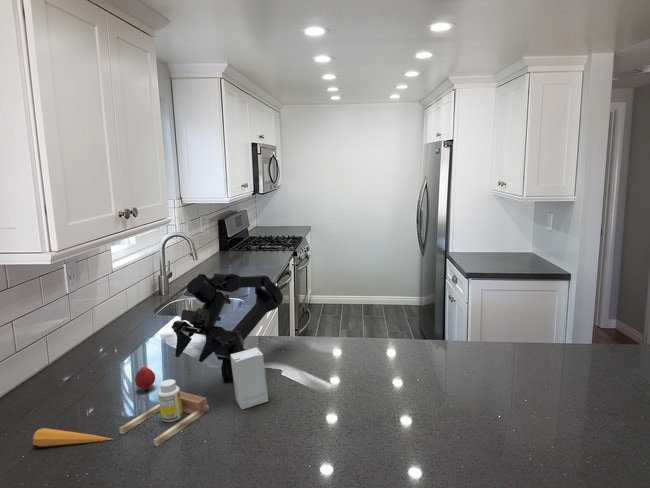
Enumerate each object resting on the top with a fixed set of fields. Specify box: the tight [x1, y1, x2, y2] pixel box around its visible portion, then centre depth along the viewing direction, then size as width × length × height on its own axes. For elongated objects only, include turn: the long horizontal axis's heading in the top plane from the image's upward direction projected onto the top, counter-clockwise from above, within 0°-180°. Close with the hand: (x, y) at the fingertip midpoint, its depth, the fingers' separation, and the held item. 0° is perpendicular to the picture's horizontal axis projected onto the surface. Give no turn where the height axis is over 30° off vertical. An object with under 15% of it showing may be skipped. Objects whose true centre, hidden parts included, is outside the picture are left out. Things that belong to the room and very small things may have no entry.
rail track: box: [118, 390, 210, 447], centre depth 123 cm, size 18×14×4 cm
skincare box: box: [230, 347, 269, 410], centre depth 129 cm, size 8×6×15 cm
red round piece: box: [134, 364, 156, 391], centre depth 142 cm, size 6×6×8 cm
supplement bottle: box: [157, 379, 184, 423], centre depth 124 cm, size 6×6×10 cm
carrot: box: [32, 427, 113, 448], centre depth 116 cm, size 20×4×4 cm, turn 91°
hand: (188, 359), depth 129 cm, fingers open, 9 cm apart
